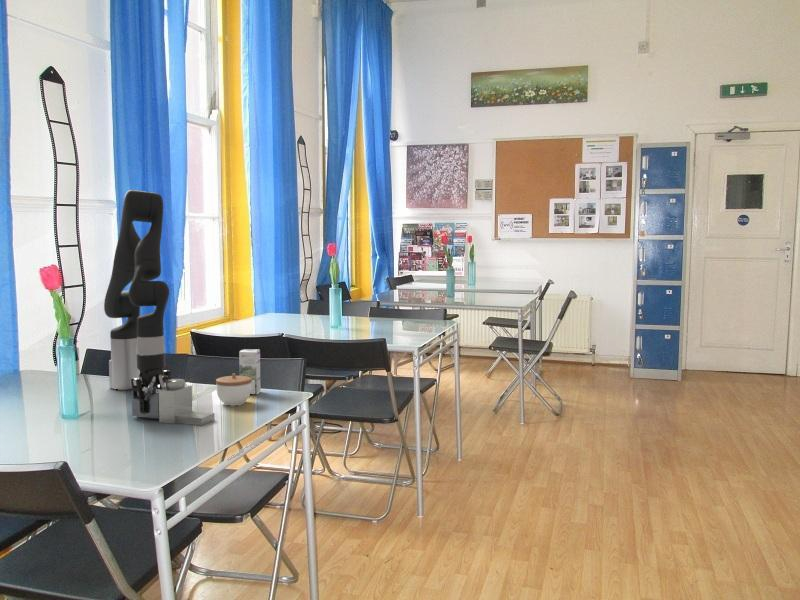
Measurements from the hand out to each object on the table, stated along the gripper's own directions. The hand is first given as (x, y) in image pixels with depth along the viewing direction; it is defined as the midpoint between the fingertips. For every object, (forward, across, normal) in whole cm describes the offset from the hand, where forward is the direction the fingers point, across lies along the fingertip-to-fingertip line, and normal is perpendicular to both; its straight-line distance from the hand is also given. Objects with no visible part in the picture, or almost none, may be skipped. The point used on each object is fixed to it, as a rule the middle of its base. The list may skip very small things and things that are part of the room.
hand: (152, 410), depth 191 cm
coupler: (+2, 0, +7) cm, 7 cm away
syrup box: (+2, -36, +10) cm, 37 cm away
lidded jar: (+2, -22, +13) cm, 25 cm away
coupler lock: (+1, 0, 0) cm, 1 cm away
